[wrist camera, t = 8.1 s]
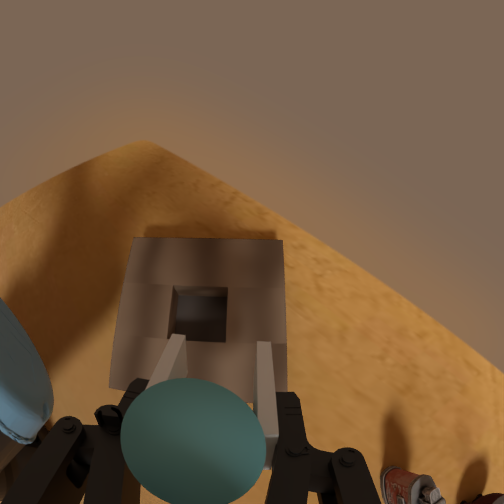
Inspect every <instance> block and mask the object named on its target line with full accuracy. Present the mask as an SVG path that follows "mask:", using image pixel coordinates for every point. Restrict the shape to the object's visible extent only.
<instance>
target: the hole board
mask: <svg viewBox="0 0 504 504" xmlns="http://www.w3.org/2000/svg"><path fill="white" fill-rule="evenodd" d="M172 334H179V335H185V337H186V355H187V370H188V373H187V377H186V378H195V379H201V380H206V381H209V382H213V383H215V384H218V385H220V386H223V387H224V388H226V389H228V390H230V391H232V392H233V393H234V394H236V395H237V396H238V397H240V398H241V399H242V400H243V401H244V402H245V403H253V382H254V368H255V357H256V346H257V341H265V342H271V349H272V360H273V371H274V382H275V392H287V339H286V305H285V278H284V256H283V240H262V239H215V238H147V237H134V238H133V242H132V246H131V251H130V255H129V259H128V264H127V268H126V273H125V278H124V282H123V288H122V293H121V298H120V304H119V309H118V315H117V322H116V328H115V335H114V342H113V350H112V359H111V368H110V378H109V388H113V389H118V390H123V391H126V390H127V388H128V386H129V384H130V383H131V382H132V381H134V380H135V379H136V378H142V379H147V380H150V378H151V376H152V374H153V372H154V370H155V368H156V366H157V364H158V362H159V360H160V358H161V356H162V353H163V351H164V349H165V347H166V345H167V343H168V341H169V339H170V337H171V335H172Z"/></svg>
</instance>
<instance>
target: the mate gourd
mask: <svg viewBox="0 0 504 504" xmlns="http://www.w3.org/2000/svg"><path fill="white" fill-rule="evenodd" d="M461 504H504V494H501V493H491V494H488V495H485V496H482V494H479V495H478V496H477V497H476V498H475V500H474V501H473V502H472V503H467V502H466V501H464V500H463V501H462V502H461Z"/></svg>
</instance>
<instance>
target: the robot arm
mask: <svg viewBox="0 0 504 504" xmlns="http://www.w3.org/2000/svg"><path fill="white" fill-rule="evenodd" d="M187 373H188V370H187V355H186V337H185V335H179V334H172V335H171V337H170V339H169V341H168V343H167V345H166V347H165V349H164V351H163V353H162V356H161V358H160V360H159V362H158V364H157V366H156V368H155V370H154V372H153V374H152V376H151V378H150V380H147V379H142V378H136V379H135V380H134V381H132V382H131V383H130V384H129V386H128V388H127V390H126V392H125V394H124V395H123V397H122V399H121V401H120V403H119V405H118V406H115V405H104V406H101V407H100V408H98V409H97V410H96V412H95V413H94V415H95V417H96V420H97V422H98V424H99V425H82V423H81V422H80V420H79V419H77V418H75V417H72V416H66V417H63V418H60V419H59V420H58V421H57V422H56V424H55V425H54V426H53V428H52V429H51V430H50V432H48V430H47V429H46V428H45V426H44V424H45V423H46V422H47V420H48V419H49V418H50V416H51V414H52V410H53V405H54V396H53V389H52V385H51V382H50V378H49V375H48V373H47V370H46V368H45V366H44V363H43V361H42V359H41V357H40V355H39V353H38V352H37V350H36V348H35V346H34V344H33V343H32V341H31V339H30V338H29V336H28V334H27V333H26V331H25V330H24V328H23V327H22V325H21V324H20V322H19V321H18V319H17V318H16V317H15V315H14V314H13V313H12V311H11V310H10V309H9V307H8V306H7V305H6V304H5V302H4V301H3V300H2V299H1V298H0V501H2V502H1V504H80V502H81V500H82V498H83V495H84V493H85V497H84V504H140V486H141V484H140V483H139V482H138V480H137V479H136V478H135V477H134V475H133V474H132V472H131V471H130V469H129V467H128V466H127V463H126V461H125V459H124V456H123V452H122V448H121V426H122V422H123V418H124V416H125V414H126V411H127V409H128V408H129V406H130V405H131V403H132V402H133V401H134V400H135V398H136V397H137V396H138V395H140V394H141V393H142V392H143V391H144V390H146V389H148V388H149V387H151V386H153V385H155V384H157V383H160V382H163V381H166V380H171V379H176V378H186V377H187ZM253 412H254V414H255V415H256V417H257V418H258V420H259V422H260V425H261V427H262V429H263V433H264V436H265V442H266V458H265V463H264V467H263V469H266V470H271V466H272V475H271V479H270V482H269V487H268V492H267V496H266V500H265V504H307V498H308V491H311V492H317V496H318V501H319V504H381V501H380V499H379V496H378V493H377V491H376V488H375V485H374V483H373V480H372V477H371V475H370V472H369V470H368V467H367V464H366V462H365V459H364V457H363V455H362V454H361V452H359V451H358V450H356V449H354V448H341V449H338V450H337V451H335V452H334V453H332V452H326V451H321V450H318V449H316V448H314V447H312V446H311V445H310V444H309V442H308V441H307V438H306V433H305V427H304V421H303V416H302V410H301V405H300V399H299V398H298V397H297V395H296V394H295V393H294V392H275V382H274V371H273V360H272V349H271V342H265V341H257V346H256V357H255V368H254V382H253Z"/></svg>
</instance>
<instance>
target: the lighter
mask: <svg viewBox="0 0 504 504" xmlns="http://www.w3.org/2000/svg"><path fill="white" fill-rule="evenodd" d="M380 486H381V493H382V498H383V500H384V503H385V504H446V501H445V499H444V498H443V497H442V496H441V495H440V490H439V488H437V487H436V485H435V483H434V481H433V479H432V477H431V476H429V475H424V474H423V475H418V474H414V473H411V472H408V471H404V470H402V469H401V468H400V467H396V466H390V467H388V468H386V469H385V470H384V471H383V472H382V474H381V476H380Z"/></svg>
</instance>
